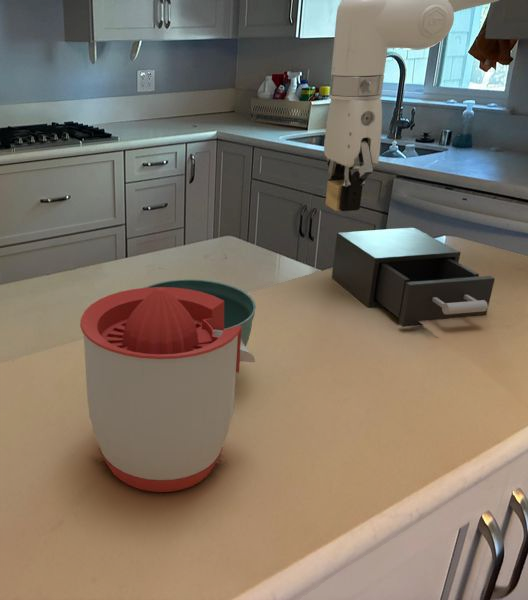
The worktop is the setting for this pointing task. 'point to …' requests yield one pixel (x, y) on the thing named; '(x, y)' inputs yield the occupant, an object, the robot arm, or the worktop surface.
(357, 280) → the grey drawer box
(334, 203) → the block
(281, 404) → the worktop surface
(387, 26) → the robot arm
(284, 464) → the worktop surface
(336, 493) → the worktop surface
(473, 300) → the mini dresser drawer
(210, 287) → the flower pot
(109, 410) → the citrus juicer
